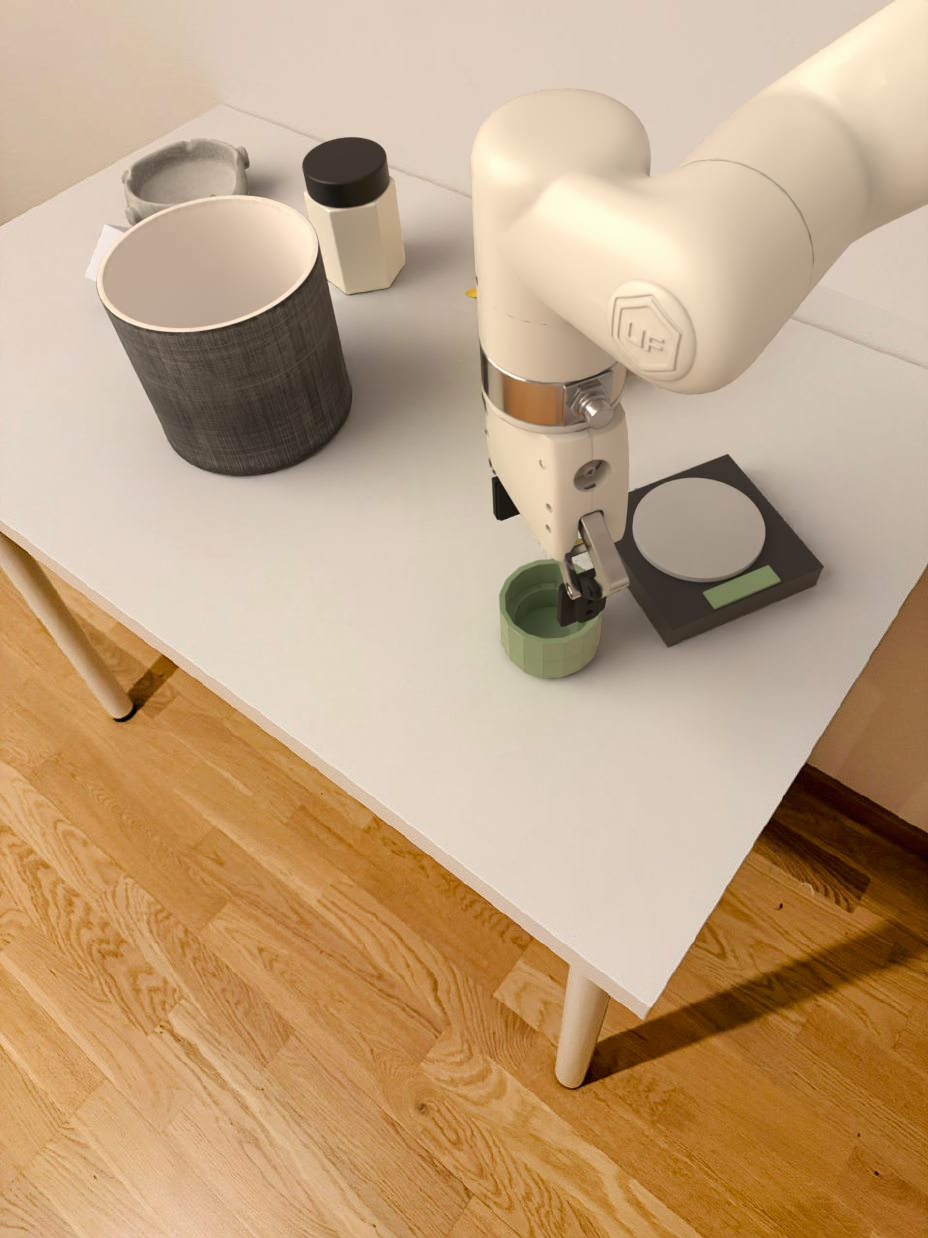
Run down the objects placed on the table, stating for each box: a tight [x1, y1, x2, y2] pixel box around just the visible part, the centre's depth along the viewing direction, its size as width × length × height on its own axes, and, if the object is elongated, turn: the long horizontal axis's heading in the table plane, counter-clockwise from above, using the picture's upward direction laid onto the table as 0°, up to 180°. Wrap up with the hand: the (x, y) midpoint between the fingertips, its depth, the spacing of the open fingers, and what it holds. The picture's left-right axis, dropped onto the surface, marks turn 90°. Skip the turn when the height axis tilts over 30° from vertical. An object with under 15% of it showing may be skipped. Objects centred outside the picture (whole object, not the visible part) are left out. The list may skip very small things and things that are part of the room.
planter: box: [95, 195, 353, 476], centre depth 78 cm, size 18×18×16 cm
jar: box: [301, 136, 407, 295], centre depth 91 cm, size 9×8×12 cm
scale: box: [614, 453, 825, 648], centre depth 71 cm, size 13×13×3 cm
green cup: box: [498, 558, 604, 679], centre depth 66 cm, size 7×7×5 cm
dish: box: [121, 137, 251, 228], centre depth 102 cm, size 14×14×5 cm
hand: (546, 561), depth 61 cm, fingers open, 9 cm apart
